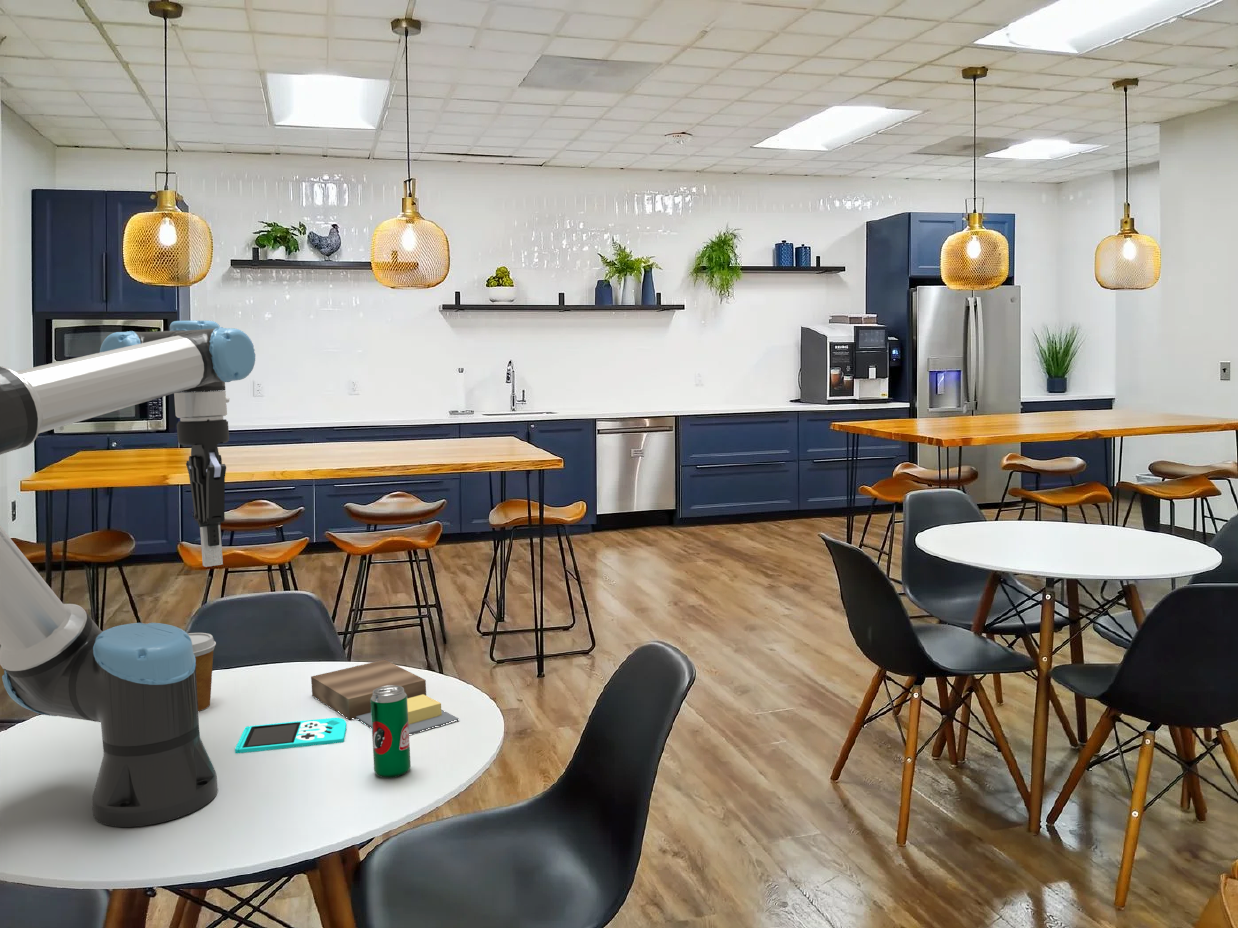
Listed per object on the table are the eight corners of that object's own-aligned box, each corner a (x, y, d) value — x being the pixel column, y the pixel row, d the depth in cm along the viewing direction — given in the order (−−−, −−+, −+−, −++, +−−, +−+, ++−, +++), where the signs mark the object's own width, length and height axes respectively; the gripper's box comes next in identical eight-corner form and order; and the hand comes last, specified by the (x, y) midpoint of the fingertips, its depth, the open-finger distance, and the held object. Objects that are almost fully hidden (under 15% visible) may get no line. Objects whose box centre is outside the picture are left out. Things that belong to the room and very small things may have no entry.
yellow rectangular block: (423, 694, 162) (423, 705, 163) (373, 707, 157) (374, 719, 157) (440, 703, 158) (441, 714, 158) (390, 716, 152) (391, 729, 152)
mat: (459, 720, 156) (459, 718, 156) (390, 740, 149) (390, 738, 149) (421, 701, 166) (421, 698, 166) (355, 718, 159) (355, 716, 158)
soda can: (410, 777, 135) (405, 694, 134) (372, 781, 134) (368, 697, 133) (411, 763, 140) (407, 682, 139) (375, 766, 139) (371, 685, 138)
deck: (426, 699, 167) (425, 679, 166) (349, 719, 158) (348, 699, 158) (385, 677, 179) (384, 659, 179) (312, 695, 170) (311, 676, 170)
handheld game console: (343, 746, 148) (343, 737, 148) (233, 757, 145) (233, 748, 145) (348, 722, 158) (347, 714, 158) (245, 733, 155) (244, 724, 155)
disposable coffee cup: (200, 694, 173) (195, 629, 172) (231, 704, 167) (226, 636, 166) (148, 710, 165) (143, 642, 164) (179, 721, 160) (173, 650, 158)
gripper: (239, 418, 150) (249, 567, 153) (214, 416, 160) (224, 556, 163) (189, 421, 146) (200, 574, 148) (166, 419, 156) (177, 562, 158)
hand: (212, 564), depth 155 cm, fingers closed
